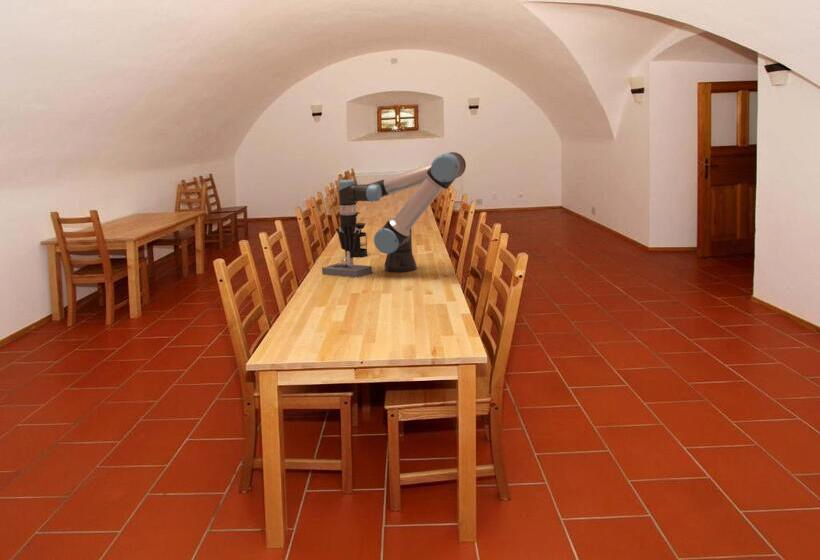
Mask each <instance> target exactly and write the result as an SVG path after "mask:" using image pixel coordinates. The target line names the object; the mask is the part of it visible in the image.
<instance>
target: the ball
mask: <svg viewBox="0 0 820 560" xmlns="http://www.w3.org/2000/svg"><path fill="white" fill-rule="evenodd" d="M340 263H341V265H342V266H343V267H347V266H349V265H347V258H346V257H345V258H342V260H341V262H340Z"/></svg>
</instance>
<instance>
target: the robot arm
mask: <svg viewBox="0 0 820 560" xmlns="http://www.w3.org/2000/svg"><path fill="white" fill-rule="evenodd" d="M466 163H467V162H466V159H465V158H464V156H462V154H461V153H458V152H455V151H452V152H451V151H450V152H445V153H441V154H438V156H436V157H435V158H434V159H433V160H432V162H431V163H429V164H426V165H424V166H420V167H418V168H414V169H410V170H409V171H408V170H407V171H405V172H402V173H399V174H396V175H393V176H390V177H386V178H384V179H380V180H376V181H374V182H371V183H367V184H356V182H355V180H353V179H341V180H339V181H338V188H337V189H338V190H337V192H338V202H339V203H338V206H339V222H340V226H339V227H338V228H336V229H335V231H336V233H337V235H338V238H339V239H338V240H339V244H340V248H341V249H342V250H344V251H345V258H346V259H347V265H352V264H353V265H354V250H356V249H357V248H358V242H359V236H360V233H361V232H362V229H358V228H357V226H356V223H357V220H356V214H355V213H356V212H357V204H356V202H372V203H373V202H379V201H380V200H381V199H382V198H384V197H386V196H389V195H393V194H396V193H398V192H401V191H405V190H408V189H411V188H415V187H417V186H418V188H417V189H416V190H415V192H413V194H412V195H411V197H410V198H409V199H408V200H407V202H406V203H405V204H404V205H403V207H402V208H401V209H400V210H399V212H398V213H397V215H395V217H390V218H389V219H388V220H387V221H386V222H385V223H384V225H383V226H382V228H380V229H378V230H377V231H376V232H375V234H374V238H373V243H374V245H375V248H376V249H377V250H378V251H379V252H381V253H383V254H386V257H385V263H384V266H383V267H384V270H385V271H386V272H392V273H393V272H395V273H399V272H400V273H403V272H404V273H405V272H410V271H414V270H416V269H417V263H416V260H415V257H414V254H413V245H412V243H413V241H412V239H413V238H412V227H413V226H414V225H415V224H416V222H417V221H419V220H420V217H422V215H423V214H424V213H425V211H426V210H427V209H428V208H429V207H430V205H431V204H432V203H433V201H434V200H435V199H436V198H437V197H438V196H439V195H440V193H441V191H443V190H448V189H449V187H450V186H451V185H452V184H453V183H454V181H455V180H456V179H459V178H460V177H461V176H462V175H463V174H464V173H465V171H466V167H467V164H466ZM354 232H355V235H354Z"/></svg>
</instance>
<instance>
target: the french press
mask: <svg viewBox="0 0 820 560" xmlns="http://www.w3.org/2000/svg"><path fill="white" fill-rule="evenodd" d="M355 214H356V221H358V214H361V212H358V211H356V213H355ZM356 226H357V228H358V229H359V230H360V229H361V230H363V229H364V228H365V226H366V222H365V223H364V222H356ZM354 235H355V232H354ZM363 237H367V232H365V231H364V232H363V231H361V233H360V236H359V242H358V248H357V249H356V250H354V257H360V258H366V257H368V256H369V255H368V243H367V240H368V239H365V242H361V238H363ZM363 246H364V247H363ZM365 246H366V247H365ZM362 247H363V248H362ZM365 256H366V257H365Z"/></svg>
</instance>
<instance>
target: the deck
mask: <svg viewBox="0 0 820 560" xmlns="http://www.w3.org/2000/svg"><path fill="white" fill-rule="evenodd" d="M372 267H373V266H371V265H362V264H354V263H353V264H352V265H349V266H347V267H343V266H342V265H341V262H339V263H338V262H337V263H334V264H331V265H327V266H324V267H322V268H321V274H322V275H326V274H328V275H329V276H336V275H340V276H339V277H345V276H350V277H349V278H355V277H357V278H360V277H362V276H366V275H369V274H372V273H373V268H372ZM328 275H327V276H328ZM359 276H360V277H359Z"/></svg>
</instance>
